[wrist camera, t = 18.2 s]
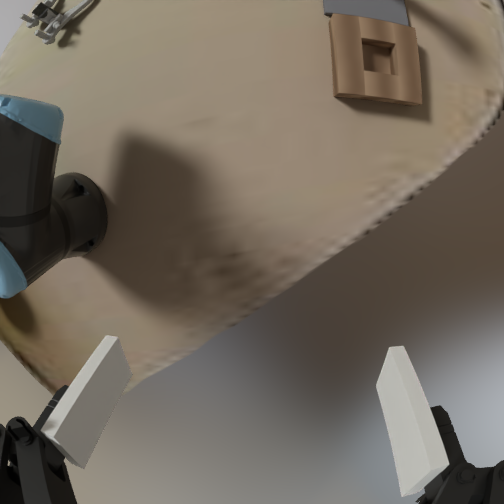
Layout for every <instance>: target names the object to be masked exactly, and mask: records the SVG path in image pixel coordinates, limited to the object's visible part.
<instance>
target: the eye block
mask: <svg viewBox="0 0 504 504" xmlns="http://www.w3.org/2000/svg"><path fill="white" fill-rule="evenodd" d="M329 32H330V43H331V57H332V73H333V96H334V97H345V98H356V99H366V100H374V101H382V102H389V103H395V104H402V105H408V106H414V105H420V104H422V88H421V74H420V63H419V54H418V45H417V38H416V32H415V28H413V27H409V26H405V25H401V24H397V23H392V22H388V21H383V20H377V19H372V18H366V17H360V16H353V15H345V14H336V13H333V15H332V17H331V19H330V21H329Z"/></svg>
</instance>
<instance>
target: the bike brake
mask: <svg viewBox="0 0 504 504" xmlns="http://www.w3.org/2000/svg"><path fill="white" fill-rule="evenodd" d="M91 1H92V0H83V1H82V2H81V3H80V4H78V5H77V6H75V7H74V8H72V9H70V10H69V11H67V12H66V13H65V14H64V15H62V14H60V13H59V14H58V13H57V12H56V11H54V10H53V9H51V7H52V6H53V5H54V3H55V2H56V0H45V1H44V3H42V2H41V3H40V4H38V5H36V7H35V9H34V10H33V12H32V13H33V14H32V15H33V17H32V18H30V17H29V16H27V15H25V14H22V15H21V16H20V18H21V19H23V20H25V21H27V25H26V26H27V27H28V28H32V27H35V26H38V24H39V20H41V21H42V22H44V23H46V24H48V26H47V27H46V29H45V30H44V31H45V32H47V33H46V34H45V33H43V32H41V31H39V30H36V31H35V33H34V35H36V36H38V37H40V38H42V39H43V40H42V42H43V43H45V44H47V45H48V44H51V43H54V42H55V36H56V35H57V33H58V32H59V31H60V29H61V28H62V27H63V26H64V25H65V24H66V23H67V22H68V21H69V20H70V19H71V18H73V17H74V16H75V15H76V14H77V13H78V12H80V11H81V10H82V9H83V8H85V7H86V6H87V5H88V4H89V3H90V2H91Z"/></svg>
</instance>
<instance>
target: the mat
mask: <svg viewBox="0 0 504 504" xmlns="http://www.w3.org/2000/svg"><path fill="white" fill-rule="evenodd" d="M323 6H324V15H333V13H336V14H345V15H353V16H360V17H366V18H372V19H377V20H383V21H388V22H392V23H397V24H401V25H405V26H409V25H408V19H407V13H406V8H405V3H404V0H323Z"/></svg>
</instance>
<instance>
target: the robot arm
mask: <svg viewBox="0 0 504 504" xmlns="http://www.w3.org/2000/svg"><path fill="white" fill-rule="evenodd" d="M63 121H64V115H63V112H62V110H61V109H60V108H59V107H58V106H55V105H52V104H49V103H45V102H41V101H37V100H32V99H27V98H22V97H17V96H11V95H4V94H0V297H1V298H10V297H13V296H14V295H15V294H17V293H18V292H20V291H21V290H25V289H26V288H27V287H28V286H29V285H30V284H31V283H33V282H34V281H35V280H36V279H38V278H39V277H40V276H41V275H43V274H44V273H45V272H46V271H48V270H49V269H50V268H52V267H53V266H54V265H55V264H57V263H58V262H59V261H61V260H62V259H65V258H71V257H77V256H82V255H85V254H87V253H89V252H90V251H92V250H93V249H95V248H96V247H97V246H98V245H99V244H100V243H101V241H102V240H103V238H104V235H105V232H106V228H107V211H106V206H105V202H104V200H103V197H102V195H101V193H100V191H99V189H98V188H97V187H96V185H95V184H94V183H93V182H92V181H91V180H90V179H89V178H87V177H86V176H84V175H82V174H79V173H66V174H63V175H60V176H58V177H56V178H54V174H55V168H56V162H57V156H58V150H59V145H60V144H61V139H60V138H61V132H62V126H63ZM132 375H133V374H132V372H131V370H130V367H129V365H128V362H127V359H126V357H125V354H124V352H123V349H122V346H121V343H120V341H119V338H118V337H115V336H109V335H106V336H105V338H104V339H103V340H102V342H101V343H100V344H99V346H98V347H97V348H96V350H95V351H94V352H93V354H92V355H91V357H90V358H89V359H88V361H87V362H86V363H85V365H84V366H83V368H82V369H81V370H80V372H79V373H78V375H77V376H76V378H75V379H74V380H73V382H72V383H71V385H70V386H67V385H64V386H63V387H62V388H60V389H59V390H58V391H57V392H56V393H55V395H54V396H53V398H52V400H51V401H50V402H49V404H48V406H46V408H45V409H44V411H43V412H42V414H41V415H40V417H39V418H38V420H37V422H36V423H35V425H34V426H33V427H31V426H30V424H29V423H28V422H27V421H26V420H25V419H24V418H22V417H14V418H12V419H11V420H10V421H9V422H8V423H7V425H6V428H5V427H4V426H3V425H2V424H0V504H77V501H76V499H75V495H74V492H73V489H72V486H71V483H70V479H69V475H68V472H67V468H66V465H65V463H64V459H65V457H66V458H67V459H68V460H69V461H70V462H71V463H72V464H74V465H76V466H79V467H81V468H83V469H84V468H85V466H86V464H87V462H88V460H89V458H90V456H91V454H92V452H93V450H94V448H95V446H96V444H97V442H98V440H99V438H100V435H101V434H102V431H103V430H104V428H105V426H106V424H107V422H108V420H109V418H110V416H111V414H112V412H113V410H114V408H115V406H116V405H117V403H118V401H119V399H120V397H121V395H122V393H123V391H124V389H125V388H126V386H127V384H128V382H129V380H130V378H131V377H132ZM376 388H377V391H378V395H379V399H380V402H381V406H382V410H383V414H384V418H385V422H386V426H387V430H388V434H389V438H390V442H391V447H392V451H393V455H394V460H395V465H396V470H397V475H398V480H399V485H400V491H401V497H403V496H407V495H411V494H414V493H418V492H419V491H421V489H423V488H424V489H425V494H423V495H422V496H421V497H420V498H418V500H417V501H416V502H419V501H420V502H419V504H504V460H503V461H501V462H499V463H498V464H497V465H496V466H494V467H485V468H476V467H475V466H474V465H472V464H471V463H467V461H466V460H465V458H464V455H463V452H462V449H461V447H460V444H459V441H458V439H457V436H456V433H455V432H454V428H453V425H451V420H450V418H449V415H448V413H447V412H446V411H445V410H444V409H443V408H442V407H441V406H435V407H429V404H428V402H427V399H426V397H425V394H424V392H423V389H422V387H421V384H420V382H419V380H418V377H417V375H416V373H415V370H414V368H413V366H412V364H411V361H410V359H409V357H408V355H407V352H406V350H405V348H404V346H397V347H389V350H388V353H387V356H386V359H385V362H384V365H383V367H382V371H381V373H380V376H379V379H378V382H377V384H376ZM8 460H9V461H10V465H9V466H8Z"/></svg>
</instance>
